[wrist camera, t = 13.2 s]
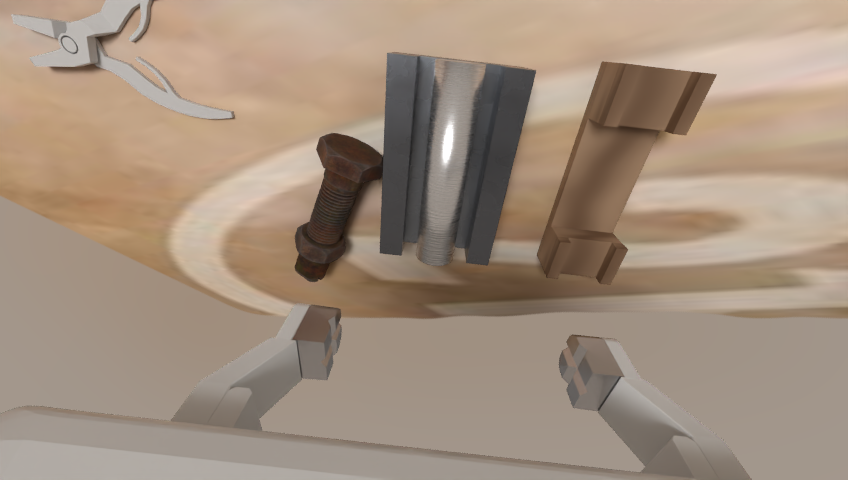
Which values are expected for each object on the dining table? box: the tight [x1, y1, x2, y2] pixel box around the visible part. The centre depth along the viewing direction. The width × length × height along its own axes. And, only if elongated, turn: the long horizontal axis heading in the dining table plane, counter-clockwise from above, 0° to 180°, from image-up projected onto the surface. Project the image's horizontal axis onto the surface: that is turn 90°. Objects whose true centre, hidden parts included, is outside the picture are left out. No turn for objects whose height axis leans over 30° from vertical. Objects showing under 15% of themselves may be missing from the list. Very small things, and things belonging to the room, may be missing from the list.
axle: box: [416, 59, 486, 266], centre depth 26 cm, size 16×4×4 cm, turn 174°
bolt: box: [295, 133, 383, 282], centre depth 31 cm, size 6×5×15 cm
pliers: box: [11, 0, 234, 119], centre depth 26 cm, size 10×2×15 cm
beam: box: [537, 62, 717, 285], centre depth 28 cm, size 6×18×4 cm, turn 174°
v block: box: [380, 52, 536, 265], centre depth 28 cm, size 10×16×4 cm, turn 174°
